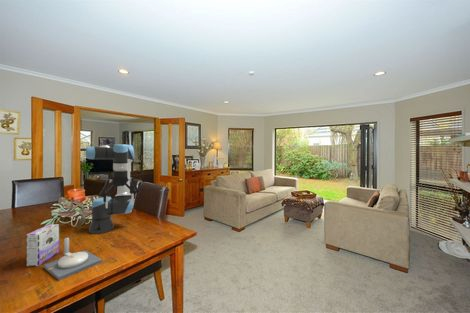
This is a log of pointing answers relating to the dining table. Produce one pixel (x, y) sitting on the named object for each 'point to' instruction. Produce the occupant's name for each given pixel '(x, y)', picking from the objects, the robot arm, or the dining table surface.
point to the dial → (71, 257)
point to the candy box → (42, 244)
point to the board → (65, 272)
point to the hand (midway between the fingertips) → (119, 206)
